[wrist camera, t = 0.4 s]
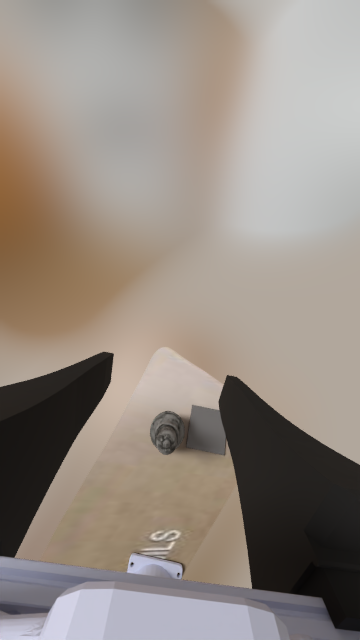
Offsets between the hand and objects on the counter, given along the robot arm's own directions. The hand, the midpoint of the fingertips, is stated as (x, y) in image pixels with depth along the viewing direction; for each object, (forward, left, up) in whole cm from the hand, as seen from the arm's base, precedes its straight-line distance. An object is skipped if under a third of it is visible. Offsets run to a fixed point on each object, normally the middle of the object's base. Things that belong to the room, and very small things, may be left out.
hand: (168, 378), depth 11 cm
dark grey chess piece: (-7, -1, -27) cm, 28 cm away
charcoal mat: (-6, -9, -27) cm, 29 cm away
